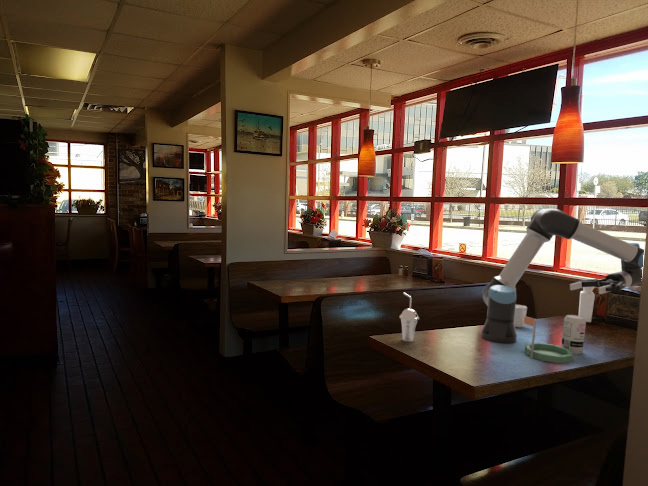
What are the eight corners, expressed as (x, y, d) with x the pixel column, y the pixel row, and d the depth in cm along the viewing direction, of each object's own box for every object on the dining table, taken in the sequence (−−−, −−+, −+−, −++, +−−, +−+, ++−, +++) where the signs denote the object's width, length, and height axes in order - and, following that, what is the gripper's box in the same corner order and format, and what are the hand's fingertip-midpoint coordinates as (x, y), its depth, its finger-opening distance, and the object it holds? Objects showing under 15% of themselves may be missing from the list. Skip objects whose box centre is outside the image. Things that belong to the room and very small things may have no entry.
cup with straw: (399, 342, 200) (402, 296, 198) (396, 336, 209) (399, 292, 207) (419, 343, 200) (422, 297, 198) (415, 337, 209) (418, 292, 207)
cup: (544, 346, 204) (547, 310, 202) (580, 359, 189) (584, 321, 187) (513, 351, 195) (517, 314, 193) (549, 365, 180) (553, 324, 178)
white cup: (526, 328, 233) (528, 308, 232) (510, 326, 234) (511, 307, 233) (523, 324, 241) (525, 305, 240) (507, 322, 242) (509, 303, 241)
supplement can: (563, 347, 205) (566, 313, 203) (584, 351, 200) (588, 317, 198) (558, 351, 199) (562, 316, 197) (580, 356, 193) (584, 320, 192)
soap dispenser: (590, 320, 257) (595, 280, 255) (592, 322, 251) (596, 282, 249) (577, 318, 259) (581, 279, 257) (578, 321, 253) (582, 281, 251)
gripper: (646, 292, 198) (613, 301, 190) (592, 286, 221) (560, 294, 213) (645, 275, 198) (611, 283, 190) (591, 270, 221) (559, 277, 212)
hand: (584, 289), depth 201 cm, fingers open, 13 cm apart
